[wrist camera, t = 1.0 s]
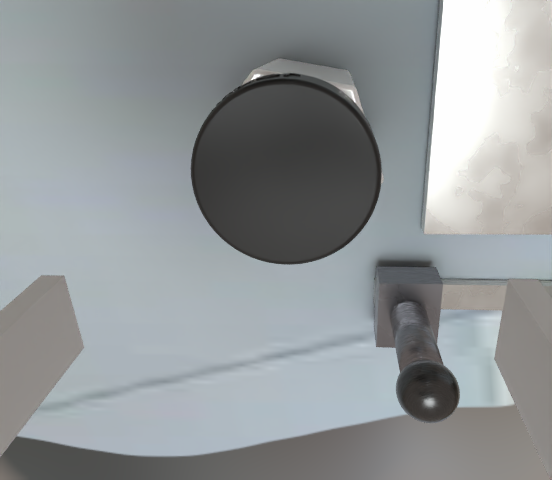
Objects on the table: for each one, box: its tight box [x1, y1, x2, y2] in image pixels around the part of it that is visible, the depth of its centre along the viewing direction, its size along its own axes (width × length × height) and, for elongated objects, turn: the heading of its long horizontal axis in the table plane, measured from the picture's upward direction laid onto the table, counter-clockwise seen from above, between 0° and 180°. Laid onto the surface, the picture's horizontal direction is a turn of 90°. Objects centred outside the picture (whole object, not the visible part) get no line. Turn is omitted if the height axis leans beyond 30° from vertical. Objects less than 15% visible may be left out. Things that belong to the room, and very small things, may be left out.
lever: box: [374, 267, 460, 423], centre depth 29 cm, size 5×4×11 cm
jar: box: [191, 58, 384, 264], centre depth 25 cm, size 9×8×12 cm
